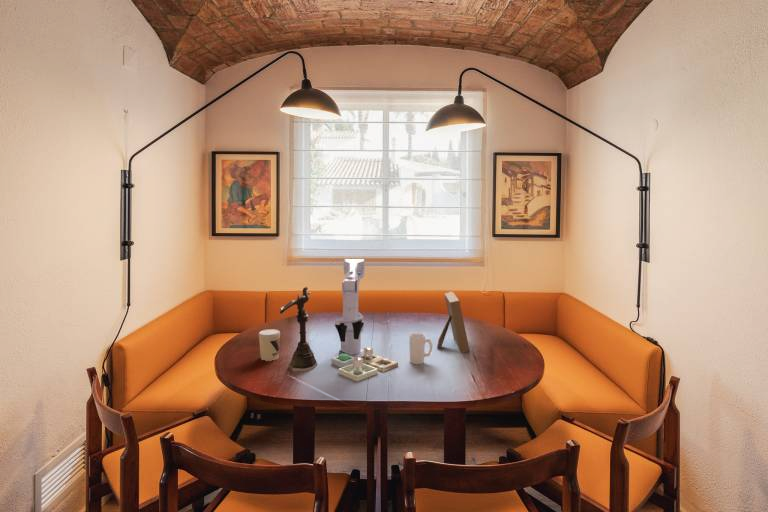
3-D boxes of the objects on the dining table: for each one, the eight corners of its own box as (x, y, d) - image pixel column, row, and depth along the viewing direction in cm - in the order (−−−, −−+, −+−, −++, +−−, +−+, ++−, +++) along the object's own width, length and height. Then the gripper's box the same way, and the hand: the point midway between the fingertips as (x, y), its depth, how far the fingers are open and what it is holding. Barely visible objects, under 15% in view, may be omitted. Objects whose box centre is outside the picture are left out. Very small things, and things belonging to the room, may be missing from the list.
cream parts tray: (353, 361, 180) (353, 357, 180) (368, 356, 187) (368, 352, 187) (383, 373, 168) (383, 368, 168) (398, 367, 174) (398, 362, 174)
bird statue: (271, 372, 168) (270, 287, 164) (283, 360, 181) (282, 282, 177) (310, 374, 166) (310, 289, 162) (320, 363, 178) (319, 283, 175)
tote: (338, 374, 166) (338, 368, 166) (358, 367, 174) (358, 361, 174) (357, 382, 158) (357, 376, 158) (377, 374, 166) (377, 368, 166)
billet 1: (351, 373, 166) (351, 358, 165) (358, 370, 169) (358, 356, 168) (357, 376, 163) (357, 361, 162) (365, 373, 166) (365, 358, 165)
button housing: (331, 365, 176) (331, 358, 176) (345, 360, 182) (345, 353, 181) (343, 369, 171) (343, 362, 171) (356, 365, 176) (356, 358, 176)
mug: (408, 364, 178) (408, 337, 177) (409, 358, 185) (410, 332, 183) (431, 365, 177) (432, 338, 175) (432, 360, 183) (432, 333, 182)
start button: (337, 361, 176) (337, 355, 176) (344, 358, 179) (344, 352, 179) (343, 363, 173) (343, 357, 173) (351, 361, 176) (351, 355, 176)
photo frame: (461, 338, 215) (463, 291, 212) (469, 352, 193) (471, 300, 191) (433, 338, 215) (434, 291, 213) (438, 352, 194) (439, 300, 191)
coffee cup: (274, 362, 179) (274, 335, 177) (255, 360, 180) (254, 334, 179) (284, 355, 188) (283, 329, 186) (265, 353, 190) (264, 328, 188)
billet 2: (361, 361, 180) (361, 348, 180) (368, 359, 183) (368, 346, 183) (368, 364, 178) (368, 350, 177) (374, 361, 181) (374, 348, 180)
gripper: (343, 310, 165) (342, 344, 164) (368, 307, 175) (368, 339, 175) (331, 308, 169) (331, 341, 169) (357, 306, 180) (357, 337, 180)
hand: (349, 340), depth 172 cm, fingers open, 7 cm apart
